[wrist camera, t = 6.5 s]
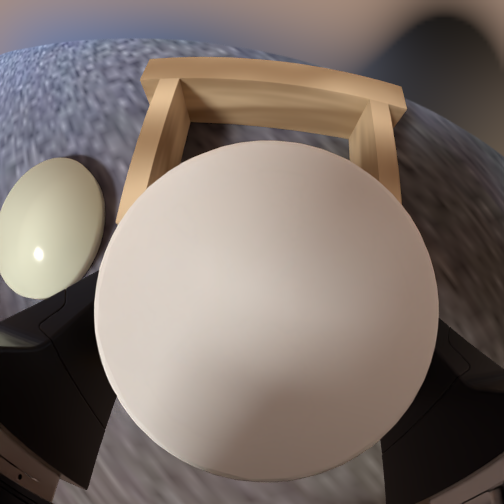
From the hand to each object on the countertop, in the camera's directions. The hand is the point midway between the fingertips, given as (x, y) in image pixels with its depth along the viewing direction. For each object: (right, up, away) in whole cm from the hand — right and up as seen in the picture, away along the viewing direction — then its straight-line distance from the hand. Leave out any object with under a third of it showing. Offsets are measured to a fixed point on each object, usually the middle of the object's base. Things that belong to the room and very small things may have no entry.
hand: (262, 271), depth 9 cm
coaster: (-15, +2, +8) cm, 17 cm away
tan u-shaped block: (0, +5, +9) cm, 10 cm away
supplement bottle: (0, -3, +7) cm, 7 cm away
